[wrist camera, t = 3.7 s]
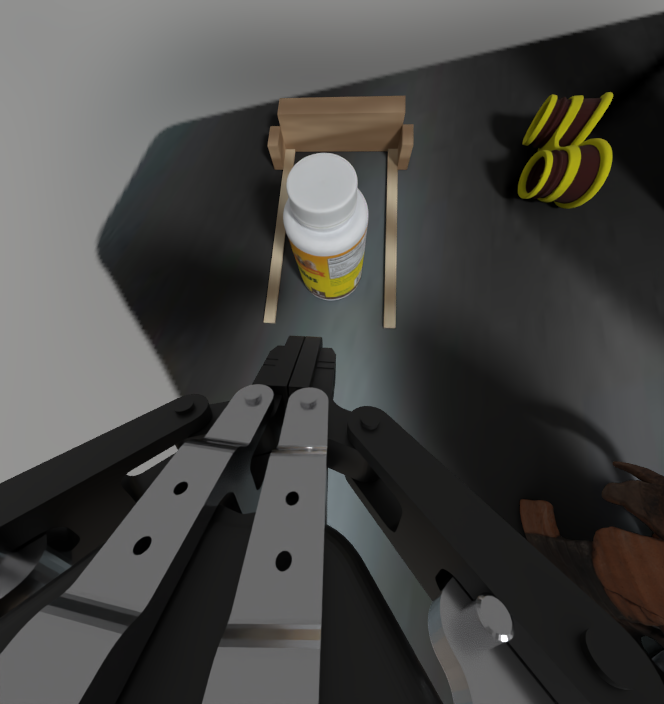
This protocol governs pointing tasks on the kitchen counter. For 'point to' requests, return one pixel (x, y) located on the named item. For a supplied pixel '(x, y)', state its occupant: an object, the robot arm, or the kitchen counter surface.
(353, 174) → the supplement bottle
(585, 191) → the opera glasses
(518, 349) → the kitchen counter surface
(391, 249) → the bay
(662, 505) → the brown jagged curved piece
